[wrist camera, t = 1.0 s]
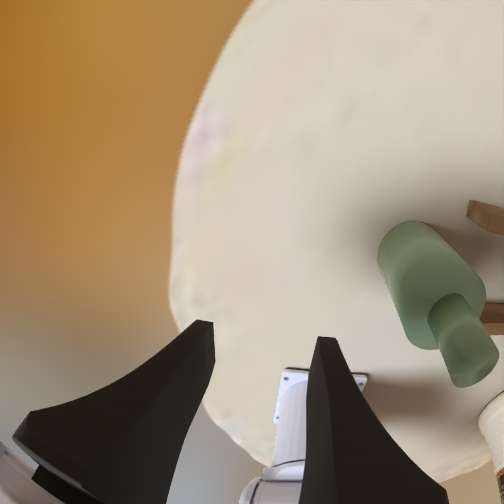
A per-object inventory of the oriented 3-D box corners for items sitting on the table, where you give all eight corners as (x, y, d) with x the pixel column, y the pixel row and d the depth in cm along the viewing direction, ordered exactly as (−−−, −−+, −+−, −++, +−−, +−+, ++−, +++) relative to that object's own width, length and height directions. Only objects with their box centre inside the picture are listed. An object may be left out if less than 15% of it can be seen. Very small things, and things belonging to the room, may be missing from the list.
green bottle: (429, 287, 19) (486, 399, 9) (370, 282, 19) (406, 409, 10) (447, 226, 17) (537, 319, 7) (385, 216, 17) (458, 319, 7)
